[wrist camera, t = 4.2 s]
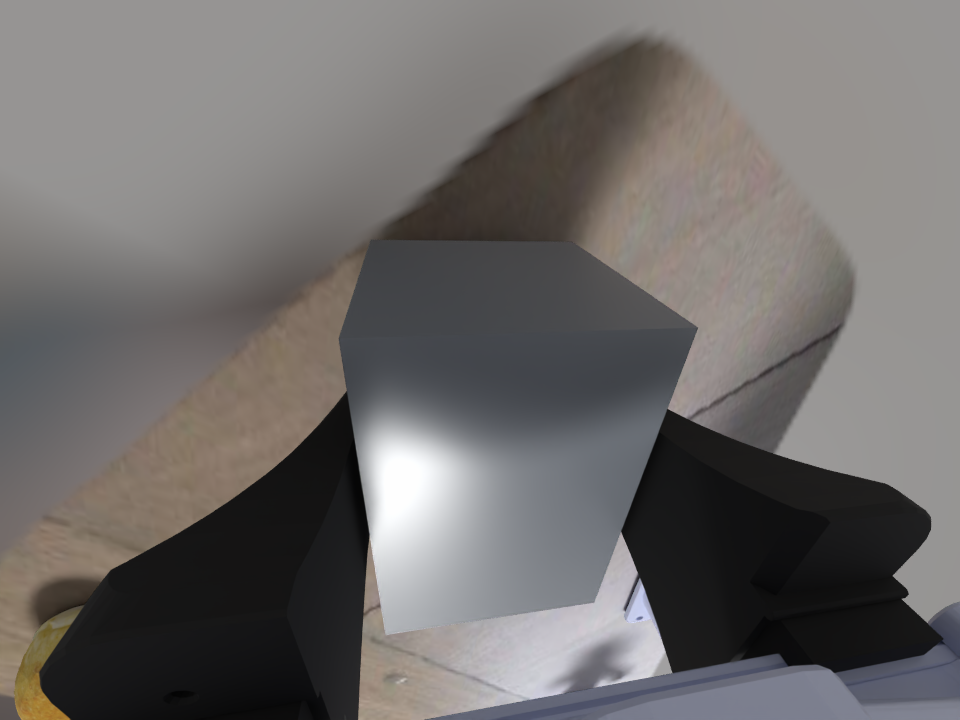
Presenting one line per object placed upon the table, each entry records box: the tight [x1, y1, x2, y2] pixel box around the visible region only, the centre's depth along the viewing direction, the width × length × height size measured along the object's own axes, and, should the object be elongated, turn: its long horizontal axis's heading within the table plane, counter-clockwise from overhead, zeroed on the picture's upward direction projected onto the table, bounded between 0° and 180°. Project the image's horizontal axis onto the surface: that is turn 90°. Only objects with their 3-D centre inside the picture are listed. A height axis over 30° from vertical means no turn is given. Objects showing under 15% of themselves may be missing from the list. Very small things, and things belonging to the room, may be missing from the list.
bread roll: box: [14, 605, 84, 720], centre depth 19 cm, size 8×9×4 cm
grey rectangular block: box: [339, 240, 698, 635], centre depth 11 cm, size 6×9×6 cm, turn 177°
